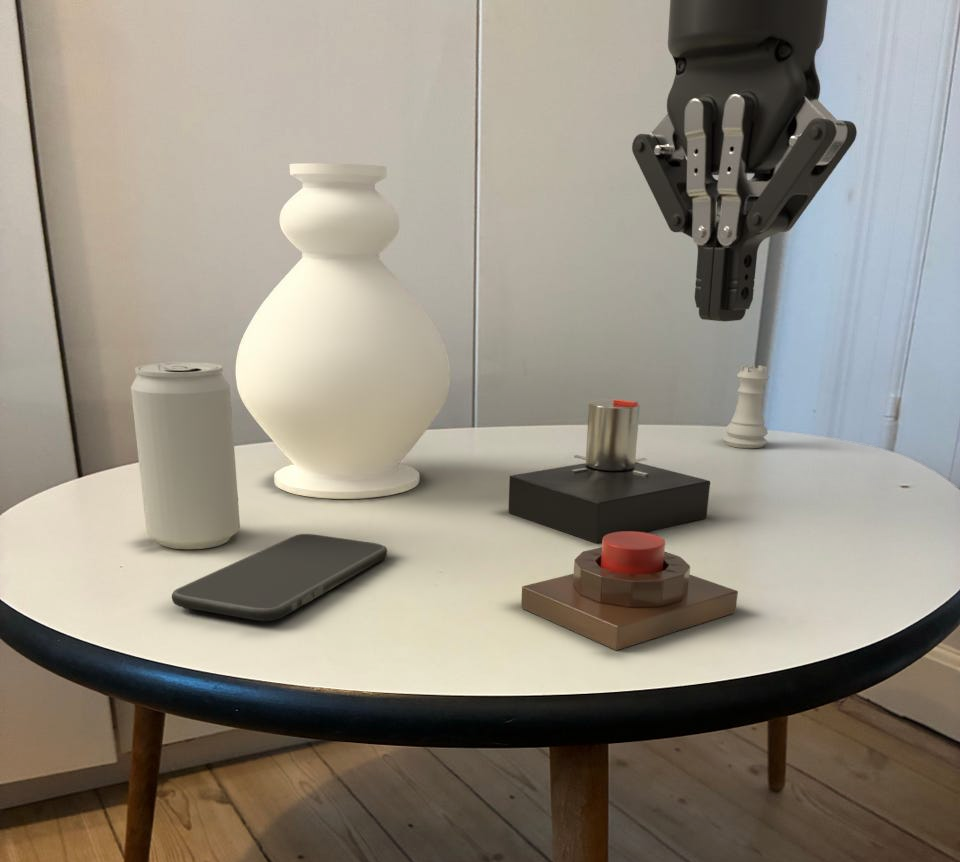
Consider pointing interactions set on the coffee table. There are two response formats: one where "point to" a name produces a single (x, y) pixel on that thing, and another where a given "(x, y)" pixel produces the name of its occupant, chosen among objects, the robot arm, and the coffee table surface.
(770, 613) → the coffee table surface
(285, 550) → the smartphone
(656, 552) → the button
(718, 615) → the button block
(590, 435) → the hob knob
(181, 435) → the beverage can
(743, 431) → the rook chess piece
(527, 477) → the black flat square block
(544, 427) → the coffee table surface
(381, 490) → the decorative vase
